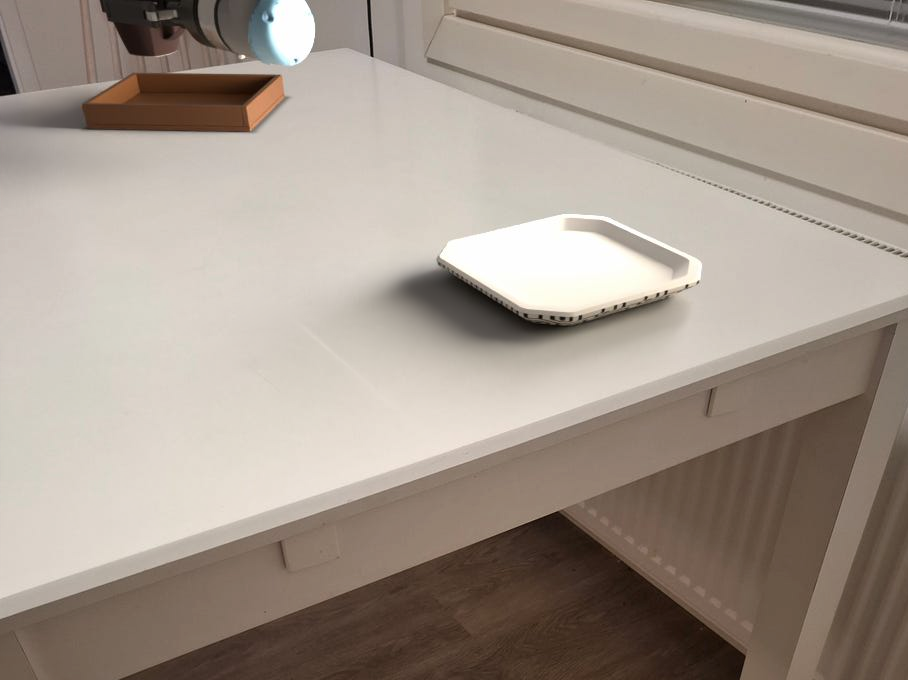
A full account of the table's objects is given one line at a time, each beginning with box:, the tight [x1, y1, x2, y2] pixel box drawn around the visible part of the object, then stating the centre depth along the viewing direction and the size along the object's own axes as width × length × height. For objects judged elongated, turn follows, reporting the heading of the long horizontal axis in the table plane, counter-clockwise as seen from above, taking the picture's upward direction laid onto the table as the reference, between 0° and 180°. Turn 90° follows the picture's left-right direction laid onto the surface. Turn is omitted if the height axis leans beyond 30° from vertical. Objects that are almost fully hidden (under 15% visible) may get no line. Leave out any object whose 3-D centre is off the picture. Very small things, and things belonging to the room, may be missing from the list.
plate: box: [436, 213, 703, 327], centre depth 86 cm, size 21×21×2 cm
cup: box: [112, 0, 188, 58], centre depth 124 cm, size 10×14×12 cm
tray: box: [81, 72, 286, 133], centre depth 133 cm, size 24×20×3 cm
